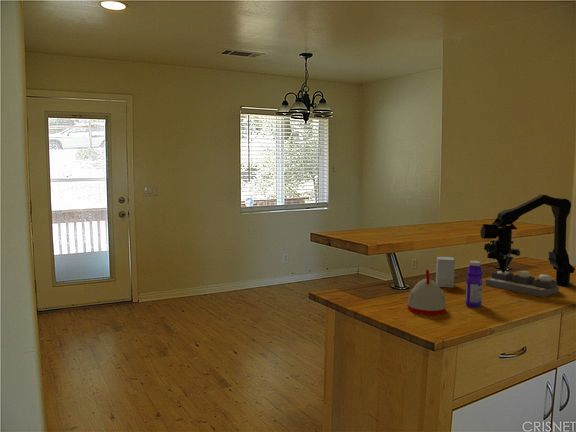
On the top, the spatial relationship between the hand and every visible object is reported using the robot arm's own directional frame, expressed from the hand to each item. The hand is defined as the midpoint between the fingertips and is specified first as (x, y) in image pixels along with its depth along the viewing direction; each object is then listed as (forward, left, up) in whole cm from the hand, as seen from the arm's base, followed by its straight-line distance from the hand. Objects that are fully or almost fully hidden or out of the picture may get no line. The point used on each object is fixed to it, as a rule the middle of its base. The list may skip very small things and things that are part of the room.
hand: (503, 272), depth 226 cm
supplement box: (+24, -15, -6) cm, 29 cm away
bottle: (+43, +11, -6) cm, 45 cm away
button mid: (0, +9, -1) cm, 10 cm away
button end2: (0, +19, -1) cm, 19 cm away
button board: (+2, +9, -5) cm, 11 cm away
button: (0, 0, -2) cm, 2 cm away
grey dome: (+62, +3, -6) cm, 62 cm away
